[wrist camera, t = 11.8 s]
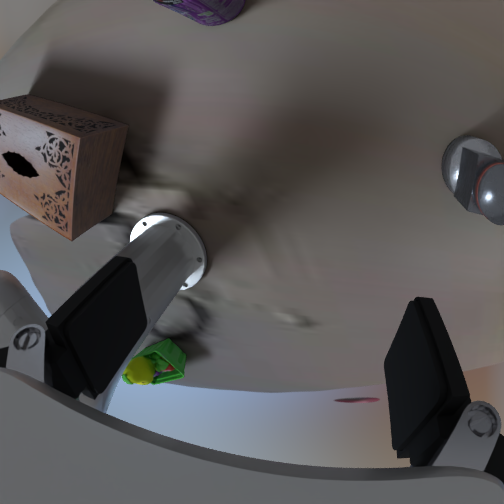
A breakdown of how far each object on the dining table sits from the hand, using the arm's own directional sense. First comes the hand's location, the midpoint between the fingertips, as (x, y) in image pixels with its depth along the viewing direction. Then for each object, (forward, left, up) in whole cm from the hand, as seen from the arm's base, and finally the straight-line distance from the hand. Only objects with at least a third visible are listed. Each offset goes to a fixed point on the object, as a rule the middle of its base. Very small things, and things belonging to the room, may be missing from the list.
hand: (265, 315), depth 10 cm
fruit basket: (-46, +2, -27) cm, 53 cm away
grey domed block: (+11, -17, -24) cm, 31 cm away
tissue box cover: (-18, +34, -28) cm, 47 cm away
